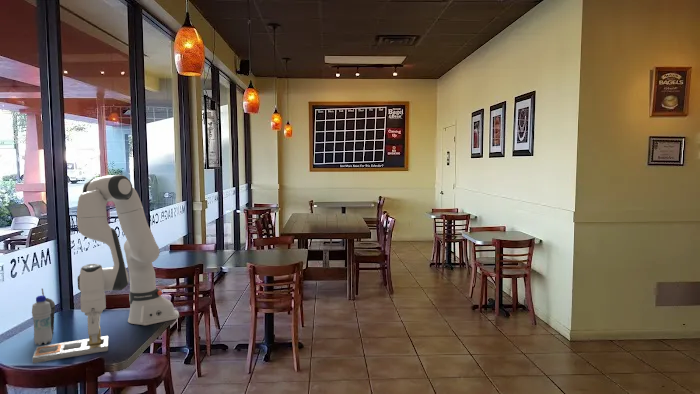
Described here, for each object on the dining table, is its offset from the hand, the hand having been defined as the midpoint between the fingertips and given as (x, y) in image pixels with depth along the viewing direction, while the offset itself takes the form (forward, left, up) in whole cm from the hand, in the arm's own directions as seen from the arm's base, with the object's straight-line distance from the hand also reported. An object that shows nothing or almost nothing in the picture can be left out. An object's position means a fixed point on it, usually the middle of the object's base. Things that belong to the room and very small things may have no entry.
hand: (95, 338), depth 191 cm
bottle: (+20, -15, -4) cm, 25 cm away
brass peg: (0, 0, -4) cm, 4 cm away
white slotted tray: (+8, 0, -4) cm, 9 cm away
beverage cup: (+20, -27, -4) cm, 34 cm away
